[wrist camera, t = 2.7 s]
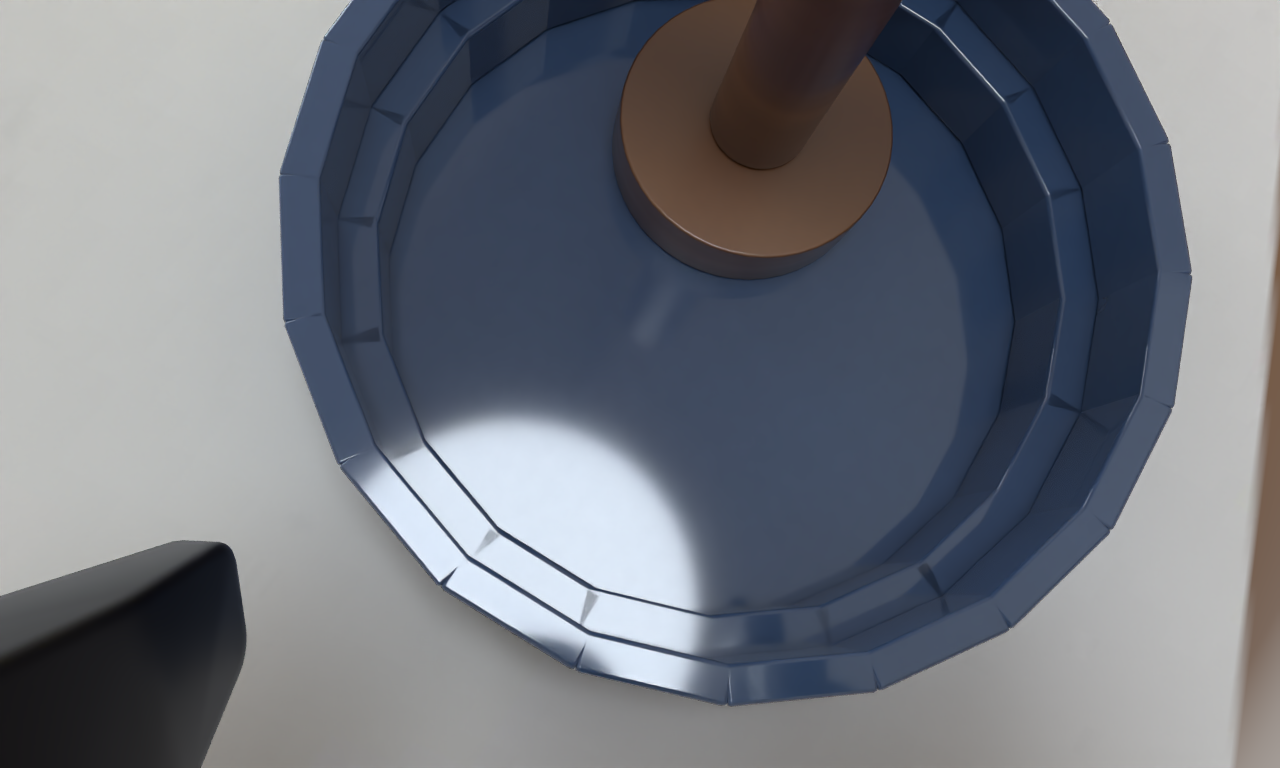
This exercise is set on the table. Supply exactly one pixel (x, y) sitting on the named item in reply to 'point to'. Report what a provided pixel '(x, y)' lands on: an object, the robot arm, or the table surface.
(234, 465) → the table surface
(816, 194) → the brown plunger
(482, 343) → the bowl
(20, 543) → the table surface
